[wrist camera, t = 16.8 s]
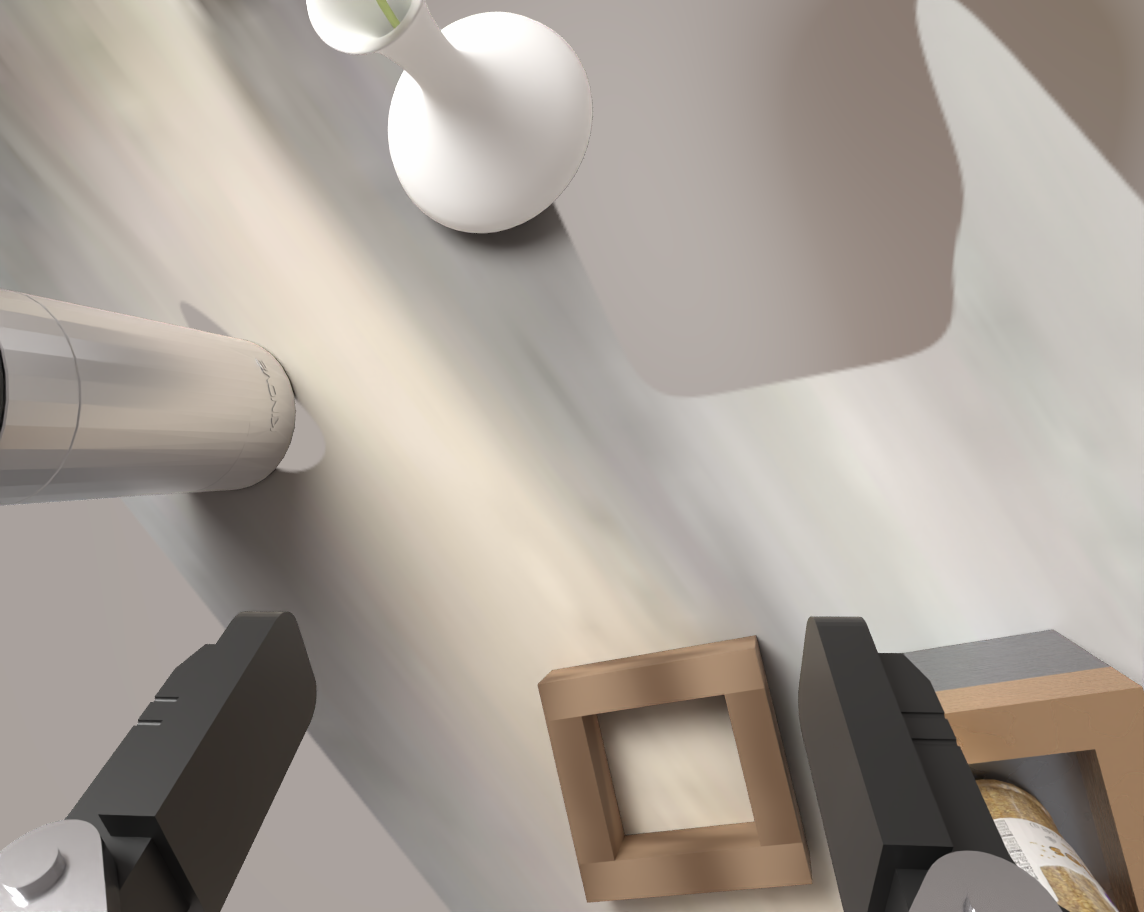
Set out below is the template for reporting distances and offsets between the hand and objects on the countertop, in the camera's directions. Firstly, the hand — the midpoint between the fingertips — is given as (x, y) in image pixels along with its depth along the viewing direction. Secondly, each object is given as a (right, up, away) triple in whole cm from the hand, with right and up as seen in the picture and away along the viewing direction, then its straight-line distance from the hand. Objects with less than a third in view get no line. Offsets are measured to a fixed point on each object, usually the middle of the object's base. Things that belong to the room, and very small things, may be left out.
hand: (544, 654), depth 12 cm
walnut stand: (+6, -13, +27) cm, 30 cm away
